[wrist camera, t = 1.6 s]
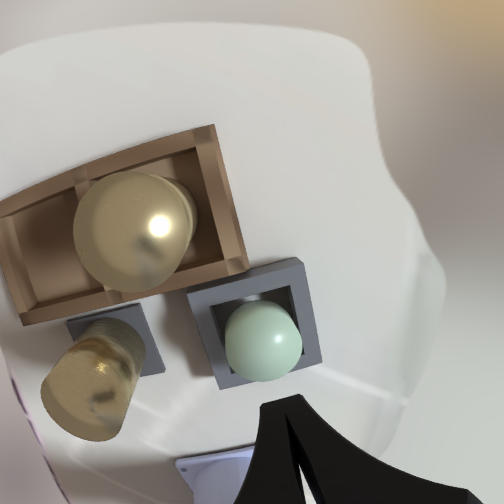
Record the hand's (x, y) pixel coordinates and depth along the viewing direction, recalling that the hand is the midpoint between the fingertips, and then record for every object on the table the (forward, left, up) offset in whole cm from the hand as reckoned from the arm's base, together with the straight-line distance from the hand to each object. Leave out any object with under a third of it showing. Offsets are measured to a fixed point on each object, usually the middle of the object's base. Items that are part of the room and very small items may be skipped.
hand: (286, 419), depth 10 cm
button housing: (0, 0, -9) cm, 9 cm away
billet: (0, +9, -8) cm, 12 cm away
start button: (0, 0, -7) cm, 7 cm away
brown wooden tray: (+7, +7, -9) cm, 13 cm away
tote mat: (0, +9, -9) cm, 12 cm away
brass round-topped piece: (+7, +3, -8) cm, 11 cm away
